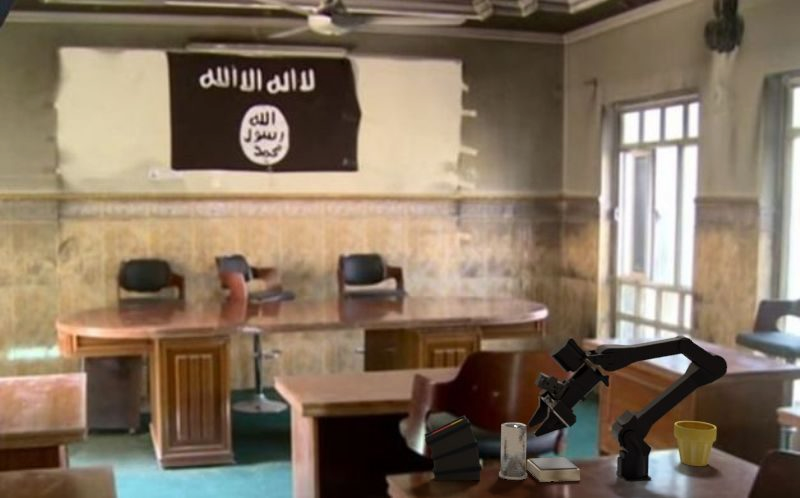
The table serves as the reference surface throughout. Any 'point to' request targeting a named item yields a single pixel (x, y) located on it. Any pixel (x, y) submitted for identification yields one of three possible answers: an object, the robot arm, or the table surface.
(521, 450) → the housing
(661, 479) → the table surface
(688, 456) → the plant pot
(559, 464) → the stand
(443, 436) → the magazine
